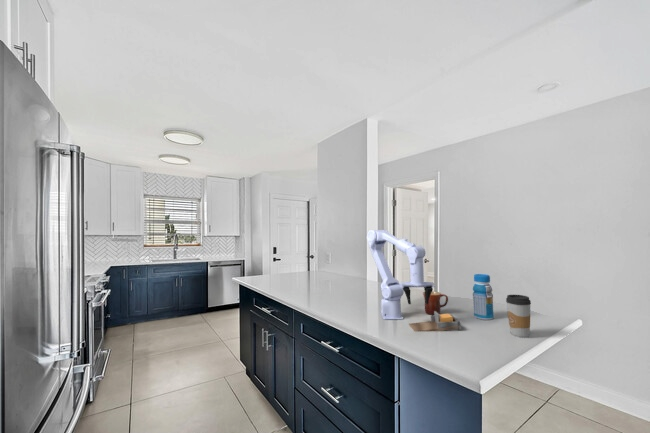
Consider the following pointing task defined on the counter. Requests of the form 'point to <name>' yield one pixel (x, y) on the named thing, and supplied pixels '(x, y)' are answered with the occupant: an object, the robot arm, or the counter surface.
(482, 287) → the beverage bottle
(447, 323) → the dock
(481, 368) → the counter surface
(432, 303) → the mug
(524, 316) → the coffee cup
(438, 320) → the orange block with knobs
